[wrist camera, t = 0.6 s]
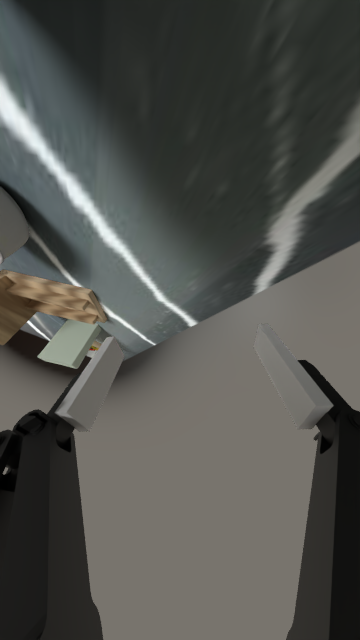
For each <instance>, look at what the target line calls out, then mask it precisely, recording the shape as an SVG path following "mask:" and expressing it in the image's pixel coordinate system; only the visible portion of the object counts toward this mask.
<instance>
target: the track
mask: <svg viewBox="0 0 360 640" xmlns="http://www.w3.org/2000/svg"><path fill="white" fill-rule="evenodd" d="M37 311H38V312H42V313H46V314H50V315H55V316H59V317H63V318H67V319H72V320H76V321H80V322H84V323H89V324H93V325H94V324H95V323H96V321H99V322H103V323H105V322H106V320H107V317H106V316H105V314H104V312H103V310H102V308H101V306H100V304H99V303H98V301H97V299H96V297H95V295H94V293H93V292H92V290H90V289H86V288H82V287H77V286H73V285H68V284H64V283H60V282H55V281H51V280H47V279H42V278H38V277H34V276H29V275H25V274H21V273H16V272H12V271H7V270H1V271H0V344H1V345H4V344H5V343H6V342H7V341H8V340H9V339H10V338H11V337H12V336H13V335H14V334H15V333H16V332H17V331H18V330H19V329H20V328H21V327H22V326H23V325H24V324H25V323H26V322H27V321H28V320H29V319H30V318H31V317H32V316H33V315H34V314H35V313H36V312H37Z"/></svg>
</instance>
